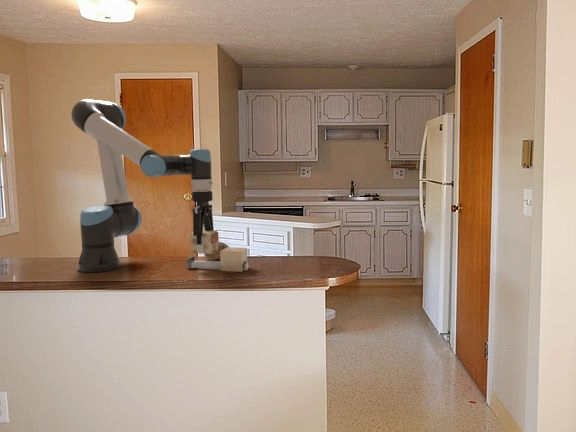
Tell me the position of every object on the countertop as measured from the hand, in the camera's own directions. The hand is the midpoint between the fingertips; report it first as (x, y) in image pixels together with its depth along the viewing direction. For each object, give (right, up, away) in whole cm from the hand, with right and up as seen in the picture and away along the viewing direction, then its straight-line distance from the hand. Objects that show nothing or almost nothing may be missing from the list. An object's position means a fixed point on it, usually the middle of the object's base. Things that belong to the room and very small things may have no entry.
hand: (204, 250), depth 196 cm
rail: (+6, -7, 0) cm, 9 cm away
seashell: (+3, -5, +17) cm, 18 cm away
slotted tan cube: (0, 0, 0) cm, 0 cm away
